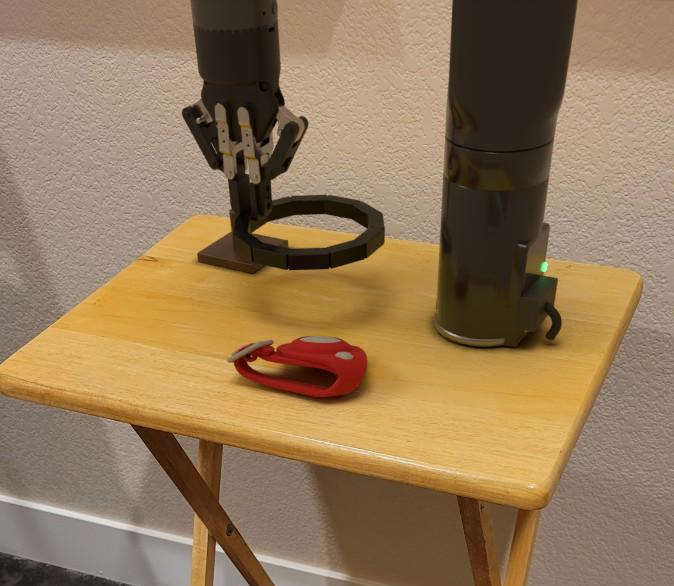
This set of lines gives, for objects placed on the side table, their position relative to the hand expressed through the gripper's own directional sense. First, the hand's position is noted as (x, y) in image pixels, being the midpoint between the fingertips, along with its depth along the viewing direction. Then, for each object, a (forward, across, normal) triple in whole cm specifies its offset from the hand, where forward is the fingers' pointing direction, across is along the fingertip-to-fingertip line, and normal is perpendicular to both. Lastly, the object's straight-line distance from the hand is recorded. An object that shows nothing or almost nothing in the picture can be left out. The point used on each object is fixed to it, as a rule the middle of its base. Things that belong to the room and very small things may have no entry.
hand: (252, 216), depth 89 cm
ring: (+1, +7, 0) cm, 7 cm away
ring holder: (+7, -6, +6) cm, 11 cm away
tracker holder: (+8, +14, -14) cm, 21 cm away
